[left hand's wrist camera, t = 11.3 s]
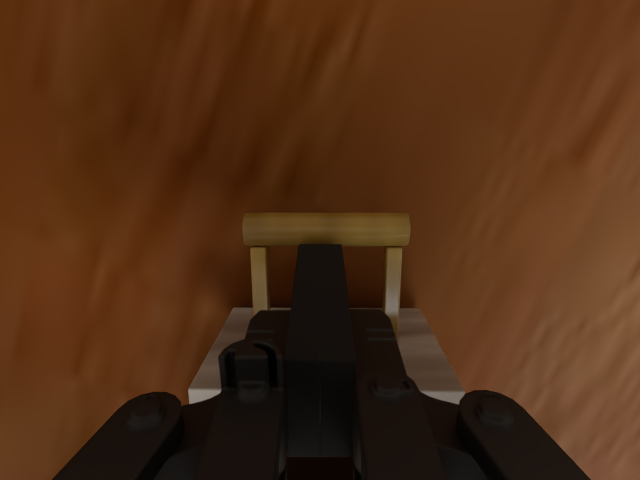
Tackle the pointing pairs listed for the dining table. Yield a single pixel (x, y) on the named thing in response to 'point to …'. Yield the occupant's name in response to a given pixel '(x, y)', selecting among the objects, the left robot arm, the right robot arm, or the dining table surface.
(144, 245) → the dining table surface
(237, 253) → the dining table surface
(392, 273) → the drawer
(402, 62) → the dining table surface
